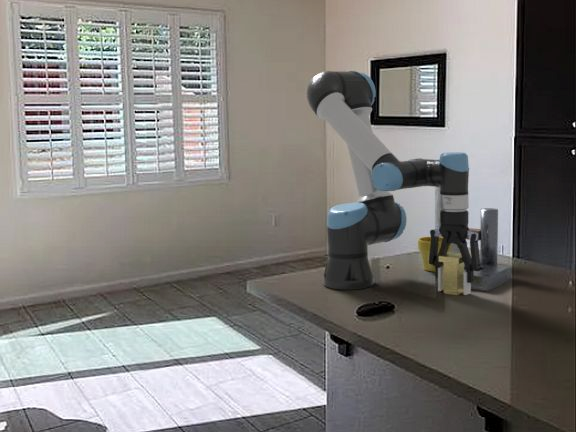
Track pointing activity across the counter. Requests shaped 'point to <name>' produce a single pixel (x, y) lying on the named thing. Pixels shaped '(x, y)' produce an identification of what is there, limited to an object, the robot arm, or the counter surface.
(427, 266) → the plant pot
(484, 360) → the counter surface
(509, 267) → the gray post stand
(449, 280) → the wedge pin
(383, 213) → the robot arm
